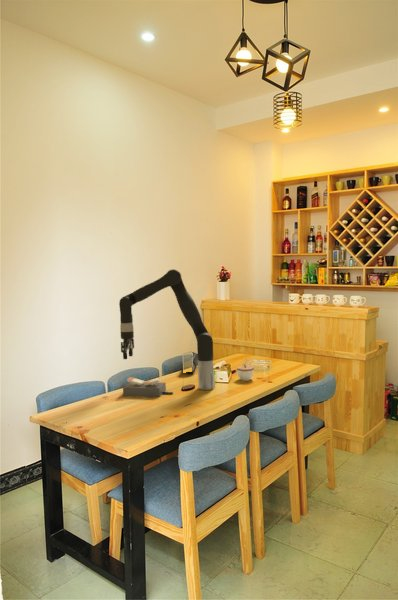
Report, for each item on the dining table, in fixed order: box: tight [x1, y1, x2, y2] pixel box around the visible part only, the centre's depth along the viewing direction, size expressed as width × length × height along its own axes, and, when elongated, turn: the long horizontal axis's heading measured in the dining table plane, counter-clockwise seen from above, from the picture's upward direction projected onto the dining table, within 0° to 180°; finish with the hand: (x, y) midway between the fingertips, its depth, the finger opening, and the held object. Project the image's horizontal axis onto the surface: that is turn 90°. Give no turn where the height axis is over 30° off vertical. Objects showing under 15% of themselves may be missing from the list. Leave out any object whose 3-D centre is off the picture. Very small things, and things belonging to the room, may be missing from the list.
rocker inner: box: [144, 377, 162, 385], centre depth 263 cm, size 9×6×2 cm, turn 77°
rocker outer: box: [126, 376, 146, 385], centre depth 265 cm, size 9×6×2 cm, turn 78°
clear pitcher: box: [181, 351, 198, 373], centre depth 318 cm, size 10×28×10 cm, turn 174°
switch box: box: [122, 381, 174, 398], centre depth 264 cm, size 28×12×5 cm, turn 78°
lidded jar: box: [236, 364, 255, 382], centre depth 287 cm, size 11×11×9 cm
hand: (128, 357), depth 266 cm, fingers open, 8 cm apart
